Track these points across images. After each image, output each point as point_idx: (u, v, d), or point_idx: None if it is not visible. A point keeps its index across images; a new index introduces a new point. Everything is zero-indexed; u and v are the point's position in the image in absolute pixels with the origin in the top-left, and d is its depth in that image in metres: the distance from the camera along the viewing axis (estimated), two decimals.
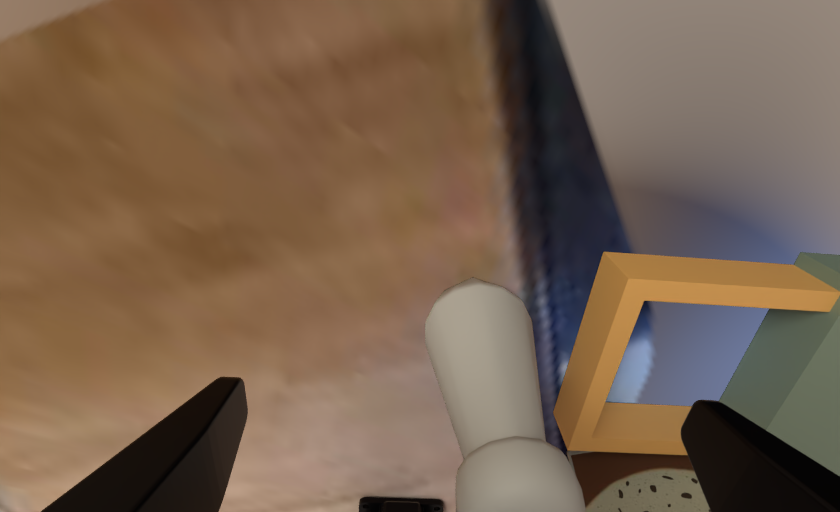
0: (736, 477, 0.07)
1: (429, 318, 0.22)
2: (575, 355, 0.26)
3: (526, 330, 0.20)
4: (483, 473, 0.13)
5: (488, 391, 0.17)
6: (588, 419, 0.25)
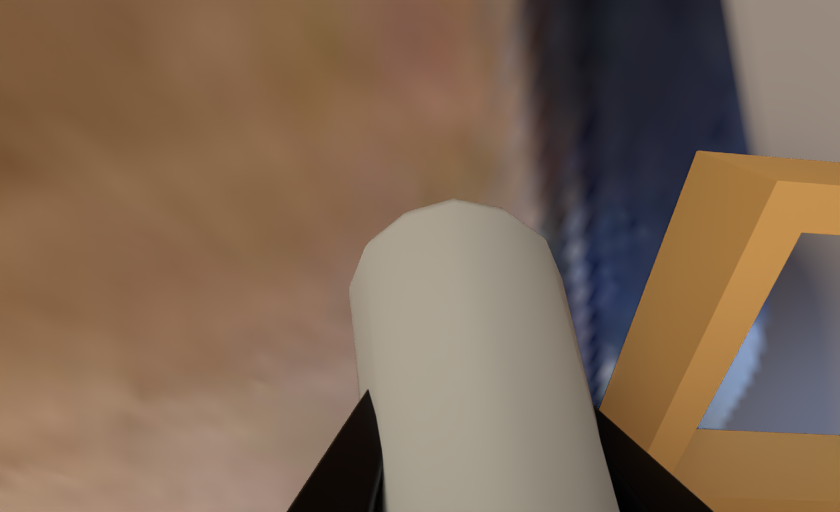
0: None
1: (355, 273, 0.11)
2: (631, 350, 0.15)
3: (557, 291, 0.09)
4: None
5: (459, 451, 0.05)
6: None
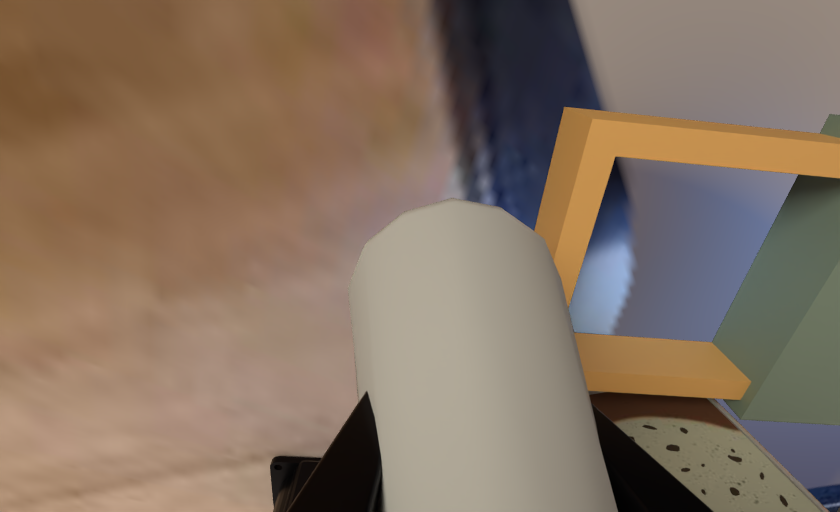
0: None
1: (354, 273, 0.11)
2: None
3: (556, 290, 0.09)
4: None
5: (457, 449, 0.05)
6: None
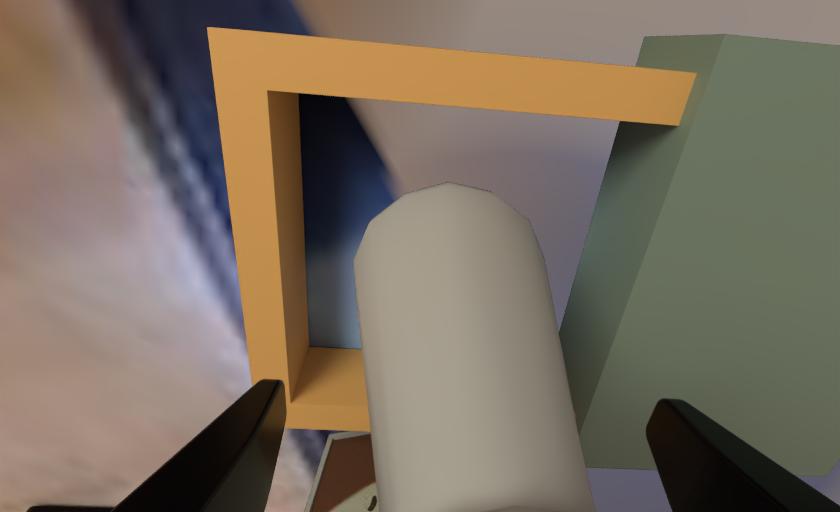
0: (694, 475, 0.07)
1: (360, 247, 0.12)
2: None
3: (537, 261, 0.10)
4: None
5: (448, 371, 0.07)
6: (268, 367, 0.14)
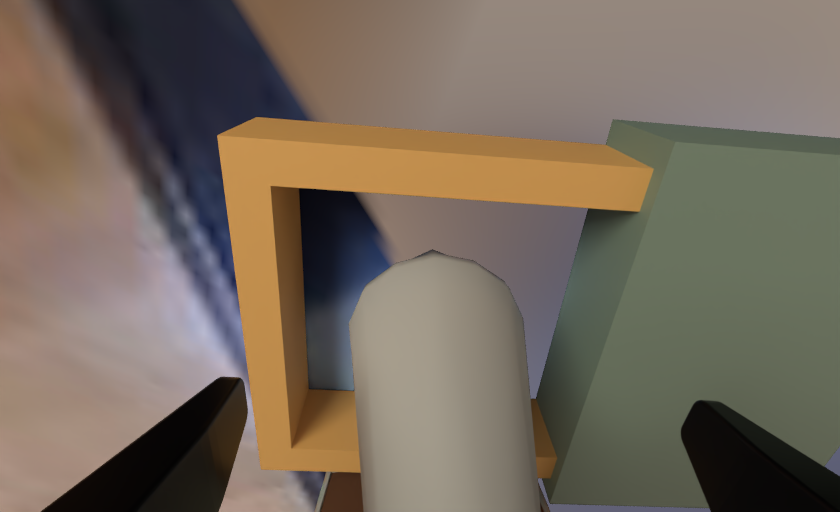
0: (736, 477, 0.07)
1: (354, 312, 0.13)
2: None
3: (512, 334, 0.11)
4: None
5: (427, 461, 0.08)
6: (271, 418, 0.15)
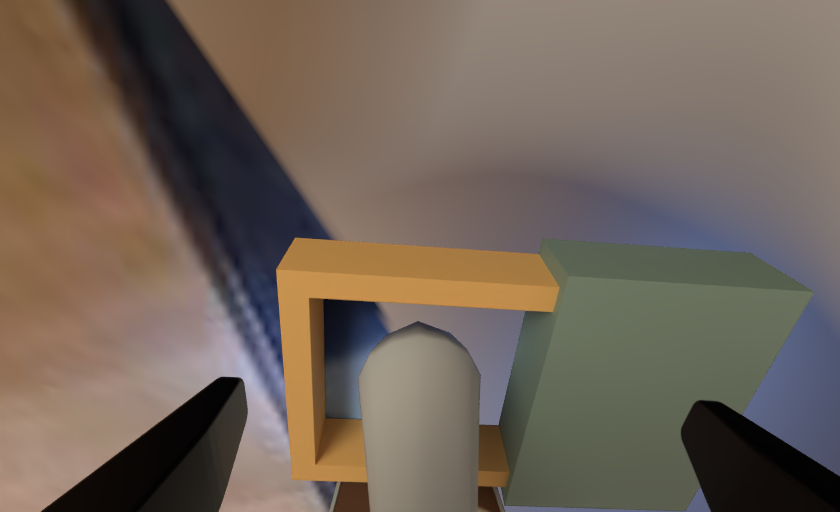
0: (736, 477, 0.07)
1: (362, 372, 0.19)
2: None
3: (468, 393, 0.17)
4: None
5: (407, 481, 0.14)
6: (301, 443, 0.21)
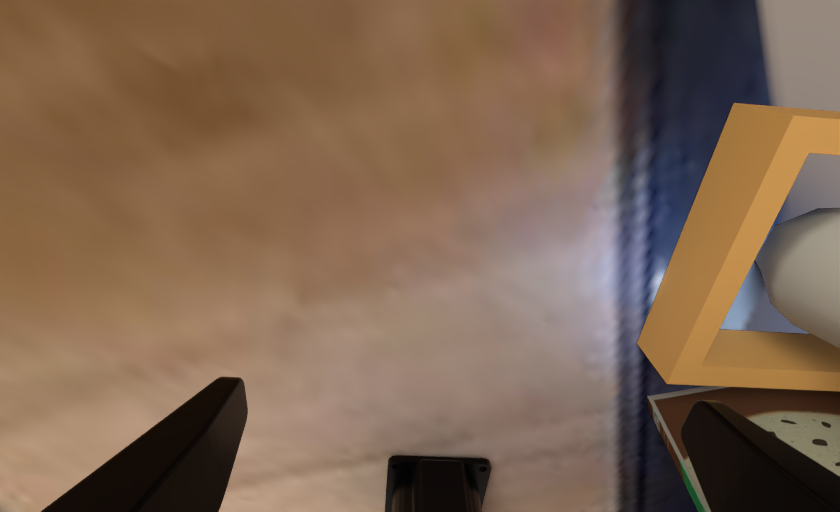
0: (736, 477, 0.07)
1: (798, 253, 0.17)
2: (679, 259, 0.20)
3: None
4: None
5: None
6: (700, 339, 0.19)
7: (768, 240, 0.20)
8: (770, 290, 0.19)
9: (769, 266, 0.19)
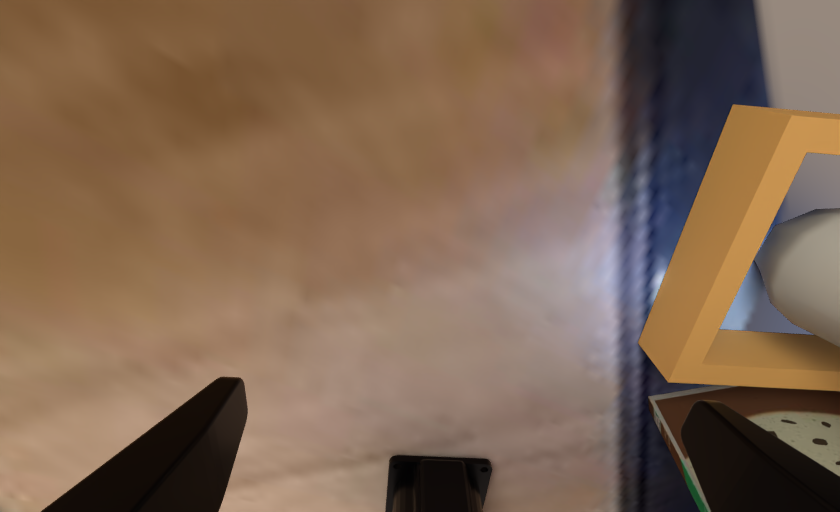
0: (736, 477, 0.07)
1: (797, 252, 0.18)
2: (679, 258, 0.20)
3: None
4: None
5: None
6: (701, 337, 0.19)
7: (767, 240, 0.20)
8: (769, 289, 0.19)
9: (768, 265, 0.19)
